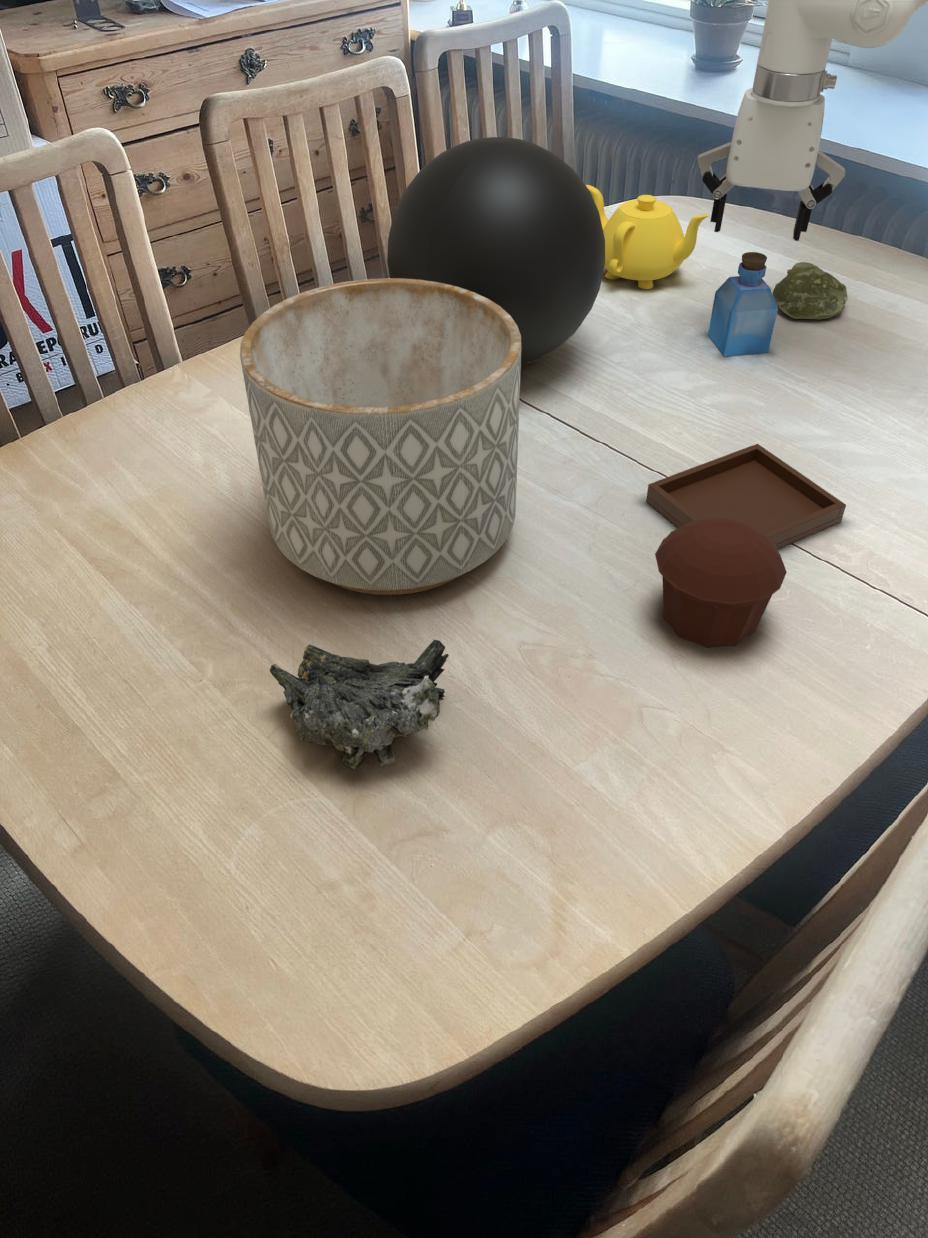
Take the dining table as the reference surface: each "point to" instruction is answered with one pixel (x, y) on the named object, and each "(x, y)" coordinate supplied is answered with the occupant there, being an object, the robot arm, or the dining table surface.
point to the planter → (386, 430)
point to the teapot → (644, 239)
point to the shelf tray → (748, 496)
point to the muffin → (717, 579)
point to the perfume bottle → (744, 310)
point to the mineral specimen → (362, 700)
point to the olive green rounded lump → (810, 293)
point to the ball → (505, 235)
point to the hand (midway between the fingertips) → (756, 232)
